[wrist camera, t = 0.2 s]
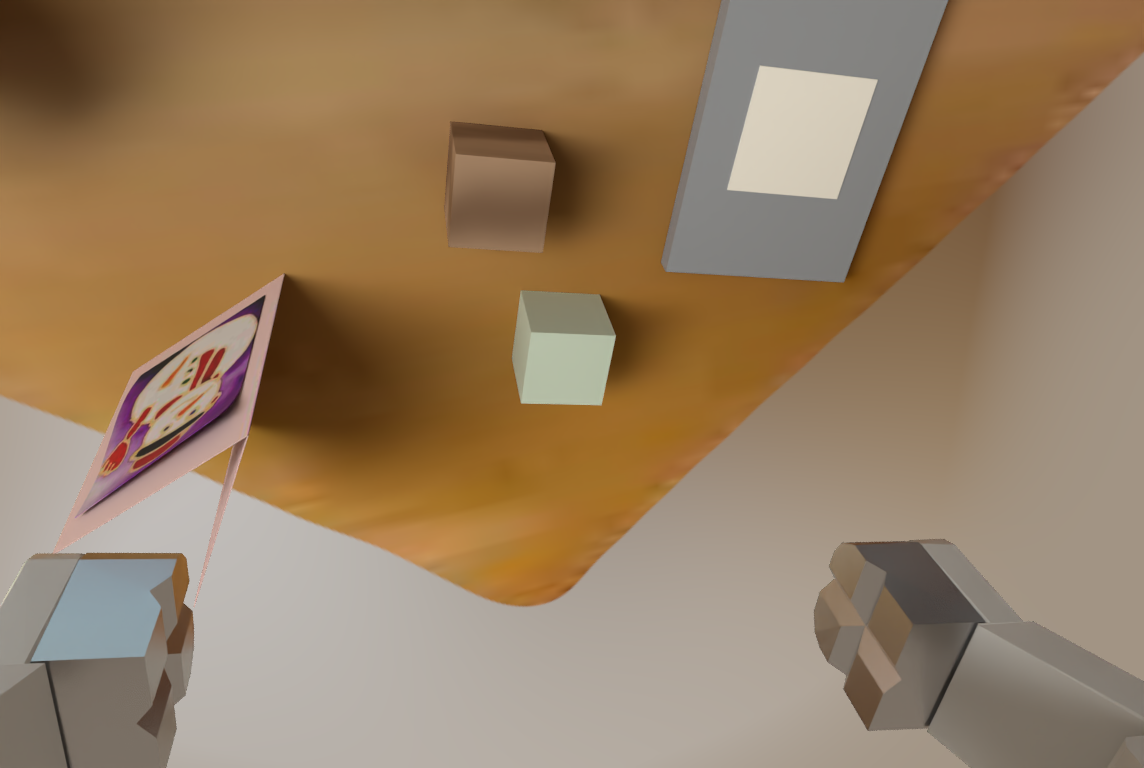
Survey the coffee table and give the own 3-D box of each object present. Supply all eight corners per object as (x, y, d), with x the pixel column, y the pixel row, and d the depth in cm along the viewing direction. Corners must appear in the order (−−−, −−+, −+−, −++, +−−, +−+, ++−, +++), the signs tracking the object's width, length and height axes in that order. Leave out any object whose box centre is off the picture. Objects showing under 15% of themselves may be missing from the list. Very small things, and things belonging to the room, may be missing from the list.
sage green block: (520, 289, 52) (531, 332, 48) (599, 294, 53) (616, 335, 49) (511, 357, 55) (521, 403, 51) (586, 360, 56) (601, 405, 52)
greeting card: (273, 262, 48) (233, 422, 36) (357, 350, 53) (345, 520, 40) (121, 361, 50) (35, 545, 38) (213, 439, 55) (162, 625, 42)
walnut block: (450, 120, 45) (455, 154, 41) (541, 129, 47) (555, 162, 43) (444, 207, 48) (448, 246, 44) (530, 214, 49) (542, 252, 45)
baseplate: (735, -60, 43) (743, -56, 41) (944, -27, 45) (957, -23, 44) (661, 262, 52) (666, 272, 51) (835, 273, 55) (844, 283, 54)
